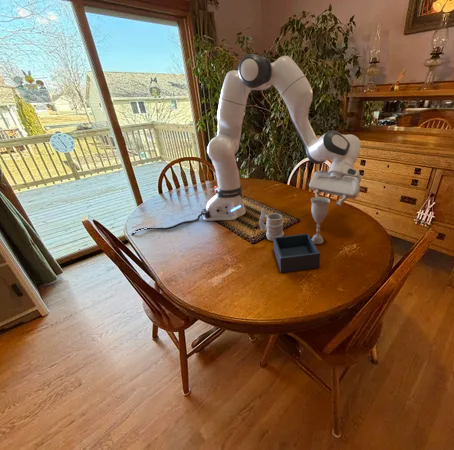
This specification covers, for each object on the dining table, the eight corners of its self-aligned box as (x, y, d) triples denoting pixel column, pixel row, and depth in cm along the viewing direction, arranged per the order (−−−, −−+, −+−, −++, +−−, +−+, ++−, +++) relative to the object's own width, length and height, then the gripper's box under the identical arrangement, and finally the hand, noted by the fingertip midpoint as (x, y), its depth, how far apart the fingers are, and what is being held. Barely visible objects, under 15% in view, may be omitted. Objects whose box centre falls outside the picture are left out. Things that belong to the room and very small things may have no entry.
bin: (280, 272, 80) (280, 258, 78) (273, 250, 92) (273, 237, 89) (319, 267, 82) (320, 253, 79) (307, 246, 94) (308, 233, 91)
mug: (277, 243, 96) (276, 217, 91) (254, 235, 103) (253, 210, 97) (287, 235, 102) (287, 210, 96) (265, 228, 108) (264, 204, 102)
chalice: (327, 237, 99) (331, 197, 90) (325, 246, 93) (329, 204, 85) (309, 235, 101) (311, 196, 93) (306, 243, 96) (308, 202, 87)
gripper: (314, 165, 100) (301, 194, 98) (363, 172, 88) (350, 205, 86) (318, 173, 105) (306, 201, 103) (365, 180, 94) (352, 211, 92)
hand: (326, 203), depth 95 cm, fingers open, 8 cm apart
